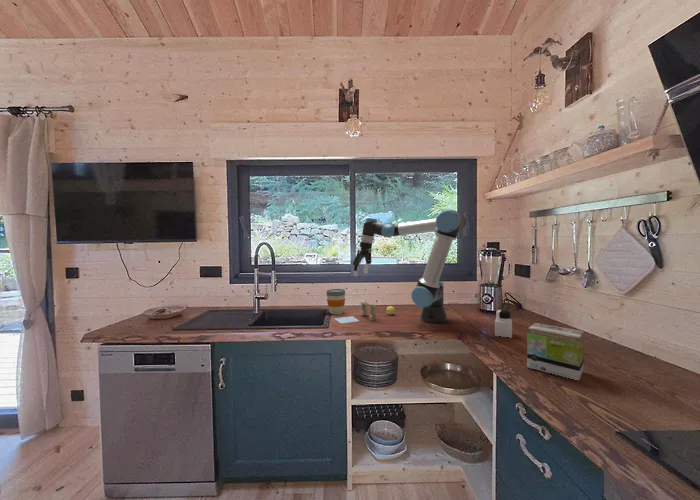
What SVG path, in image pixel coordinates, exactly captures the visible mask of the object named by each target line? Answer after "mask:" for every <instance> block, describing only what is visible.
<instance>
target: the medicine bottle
mask: <svg viewBox="0 0 700 500" xmlns="http://www.w3.org/2000/svg"><path fill="white" fill-rule="evenodd" d="M495 313H496V315H495V316H496V318H495V320H494V336H495V337H499V336H501V337H500V338H506V337H509V339H512V338H513V320H512V319H511V312H510V311H509V310H507V309H498V310H496V311H495Z"/></svg>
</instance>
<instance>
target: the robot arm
mask: <svg viewBox="0 0 700 500" xmlns="http://www.w3.org/2000/svg"><path fill="white" fill-rule="evenodd" d="M466 219H467V218H466V217H465V215H464V214H463V213H462V212H460V211H457V210H454V209H450V208H449V209H443V210H441V211H440V212H439V213H438V214H437V215H436V217H435V218H430V219H421V220H414V221H408V222H400V223H393V224H391V223H383V222H379V221H378V219H377V218H375V217H370V216H365V218H364V222H363V226H362V231H361V232H362V233H361V235H360V237H361V238H360V243H359V248H360V249H357V252H356V255H355V257H354V260H353V262H352V265H353V273H352V276H354V277H355V278H356V277H358V274H359V267H360V264H361V262H362V260H363V259H364V261H365V263H364V266H363V267H364V268H363V274H366V275H368V273H369V269H370V268H369V267H370V265H371V264H372V248H373V243H374V237H375V235H377V236H381V237H383V238H392V237H399V236H405V235H406V236H407V235H408V236H409V235H415V234H424V233H433V232H434V235H435V238H434V242H433V244H432V247H431V250H430V253H429V255H428V259H427V262H426V265H425V268H424V272H423V275H422V277H421V278H419V279H418V281H417V283H416V287H414V288H413V289H412V292H411V294H410V297H411V301H412V303H414V304H415V306H416V307H419V308H422V309H421V313H420V315H419V316H420V320H421V321H422V322H425V323H431V324H432V323H433V324H437V323H438V324H440V323H446V322H447V321H448V316H447V313H446V311H445V307H444V300H445V299H444V297H445V296H444V287H445V286H444V283H443V281H440V278H441V275H442V272H443V269H444V266H445V264H446V260H447V258H448V254H449V253H450V249H451V247H452V243H453V241H454V240H456V239H457V237H458V235H459V233H460V232H461V231H462V230H463V229H464V228H465V226H466V224H467V220H466Z"/></svg>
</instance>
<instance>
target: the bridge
mask: <svg viewBox="0 0 700 500" xmlns="http://www.w3.org/2000/svg"><path fill="white" fill-rule="evenodd" d="M367 307H368V308H367ZM367 309H368V310H367ZM367 311H368V312H367ZM367 313H368V314H367ZM360 315H361V316H362V317H363V316H367V315H368V320H369V321H376V304H374V303H372V302H370V301H367V300H360Z"/></svg>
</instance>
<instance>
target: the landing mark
mask: <svg viewBox="0 0 700 500" xmlns="http://www.w3.org/2000/svg"><path fill="white" fill-rule="evenodd" d="M333 319H334V320H335V321H336V322H338V323H339V324H340V325H341V324H348V323H349V324H350V323H357V322H360V320H359V319H357V318H356V317H354V316H343V317H336V318H333Z"/></svg>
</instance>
